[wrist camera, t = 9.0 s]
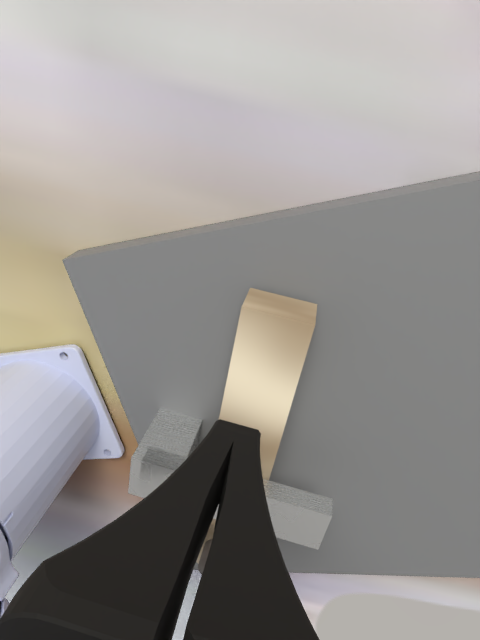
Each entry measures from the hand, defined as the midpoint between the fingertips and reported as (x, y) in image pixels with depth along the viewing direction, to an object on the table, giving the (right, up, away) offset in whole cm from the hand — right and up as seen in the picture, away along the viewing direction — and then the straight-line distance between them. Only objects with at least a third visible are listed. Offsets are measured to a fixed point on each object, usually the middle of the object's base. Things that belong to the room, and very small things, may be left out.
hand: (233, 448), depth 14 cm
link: (+1, -2, +10) cm, 10 cm away
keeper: (0, -3, +10) cm, 11 cm away
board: (+5, -1, +10) cm, 11 cm away
